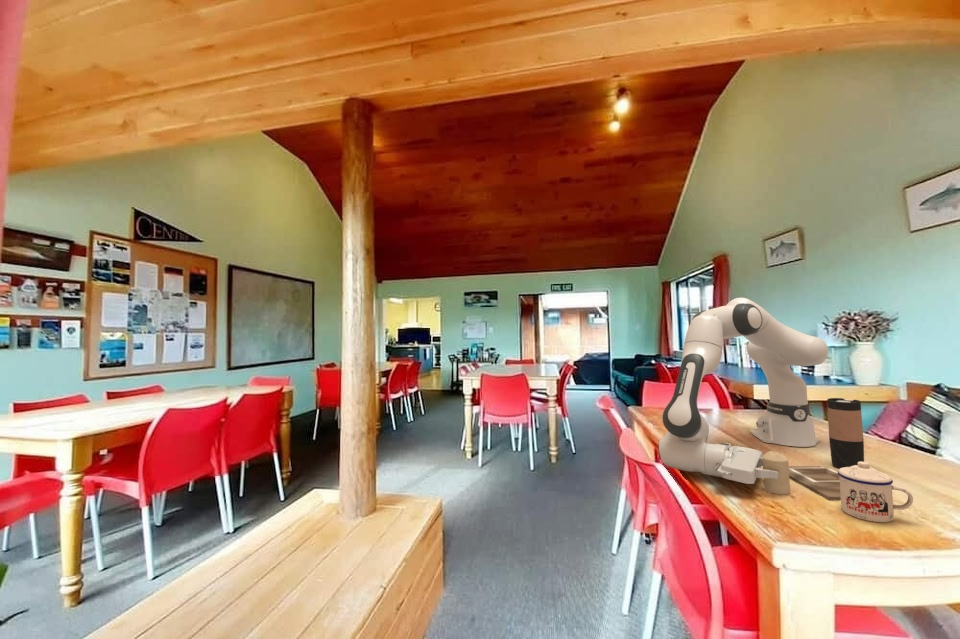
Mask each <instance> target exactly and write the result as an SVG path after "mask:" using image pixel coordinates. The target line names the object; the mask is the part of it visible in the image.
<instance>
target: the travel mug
mask: <svg viewBox="0 0 960 639" xmlns="http://www.w3.org/2000/svg"><path fill="white" fill-rule="evenodd" d="M826 401H827V403H826V404H827V405H826V406H827V422H828V424H827V425H828V439H829V449H830V458H831V459H830V460H831V465H832V467H834V468H836V469H838V470H839V469H840V468H843V467H851V466H854V465H858V462H865V442H864V431H863V430H864V427H863V418H862V416H863V415H862V405H861V404H862V402H861V401H860V400H858V399H852V400H846V399H845V398H841V397H838V398H837V397H833V398H832V397H830V398H827V400H826Z"/></svg>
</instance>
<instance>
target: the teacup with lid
mask: <svg viewBox="0 0 960 639" xmlns="http://www.w3.org/2000/svg"><path fill="white" fill-rule="evenodd" d="M837 472H838V475H839V479H840V494H841V500H840V507H841V509H842V511H843V513H846V514H847V515H849V516H851V517H853V518H856V519H859V520H864V521H867V522H872V521H873V522H874V523H890V522H893V520H894V519H895V514H894V510H898V511H900V510H906V509H908V508H910V507H911V506H912V504H913V503H914V496H913V495H912V493H911V492H910V491H909V490H908V489H907V488H904V487H902V486H899V485H893V483H894V480H893V478H892V477H891V476H890V475H889V474H887V473H885V472H881V471H879V470H878V469H875V468H873V467H872V466H871V465H870V463H869V462H866V461H864V462H858V465H854V466H851V467H843V468H840V469H838V471H837ZM893 490H895V491H899V492H902V493H904V494H906V495H907V500H906V501H905V503H903V504H894V500H893V499H894V497H893Z"/></svg>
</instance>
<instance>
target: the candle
mask: <svg viewBox="0 0 960 639" xmlns="http://www.w3.org/2000/svg"><path fill="white" fill-rule="evenodd" d="M762 460H763V466H762V469H764V470H770V469H772V470H777V471H778V472H779V477H778V479H774V478H763V487H764V490H765V491H766V492H768V493H770V494H771V493H772V494H775V495H789V494H790V493H791V484H790V483H791V482H790V478H789V459H788V458H787V457H786V456H784V455H783V454H782V453H780V452H777V451H775V450H771V451H770V450H769V451H767V452H766V453H765V454H762Z"/></svg>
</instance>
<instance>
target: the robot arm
mask: <svg viewBox="0 0 960 639" xmlns="http://www.w3.org/2000/svg"><path fill="white" fill-rule="evenodd" d="M686 330H687V331H686V335H685V336H684V337H685V338H684V343H683V348H682V356H681V362H680V368H679V372H678V374H677V379H676V383H675V386H674V391H673V395H672V397H671V399H670V401H669V402H668V404H667V405H666V407H665V408H664V410H663V411H662V416H661V417H662V423H663V425H664V428H665V429H666V430H667V432H666V434H665V435H664V436H663V437H662V438H661V439H660V440H659V442H658V445H657V448H658V455H659V457H660V460H661V462H662V463H663V464H664V465H665V466H667V467H669V468H672V469H675V470H680V471H684V472H685V471H686V472H689V473H690V472H691V473H693V472H694V473H695V472H697V473H701V474H704V475H707V476H713V477H718V478H723V479H726V480H729V481H733V482H738V483H742V484H748V485H751V484H752V485H753V484H755V482H756V480H757V478H758V479H764V478H774V479H778V477H779V472H778V471H777V470H772V469H770V470H764V469H763V468H762V467H763V460H762V456H763V452H762V451H760V450H758V449H754V448H750V447H745V446H744V447H743V446H739V445H732V444H731V443H728V442H721V443H711V442H710V443H708V438H709V433H710V427H709V423H708V421H707V419H706V418H705V417H704V416H703V415H702V414H701V413H700V410H699V407H698V400H699V395H700V389H701V385H702V381H703V378H704V377H705V375H710V374H713V373H714V372H715V371H717V369H718V368H719V364H720V362H721V359H722V355H723V347H724V340H728V339H732V338H738V337H742V336H743V337H744V338H745V339H747V340H748V341H749V342H748V344H747V346H746V351H747V355H748V357H749V358H750V359H751V360H752V361H754V362H755V363H756V364H757V365H758V367H760V369H761V370H762V371H763V374H764V375H765V378H766V381H767V388H768V395H769V396H768V397H769V401H767V402H766V404H765V405H766V406H767V407H766V412H764V413H763V414H762V415H760V416H759V417H758V418H757V420H756V422H755V426H756V428H754V429H750V430H749V433H750V434H752V435H753V436H755V438H758V440H759V441H761V442H763V443H769V444H775V445H781V446H785V447H786V446H787V447H788V446H789V447H798V448H799V447H800V448H801V447H802V448H803V447H804V448H806V447H807V448H809V447H815V446H817V443H820V438H818V437H817V434H816V429H815V423H814V419H813V418H812V417H811V416H810V414H811V411H810V410H811V407H810V404H809V403H808V390H807V389H808V388H807V383H806V381H805V380H804V379H803V378H802V377H800V376H798V375H797V374H795V373H794V371H792V369H791V366H794V367H810V366H818V365H822V364H823V363H824V362H825V361H826V360H827V358H828V355H829V348H828V345H827V343H826V342H825V341H824V340H823V339H822V338H821V337H817V336H814V335H809V334H807V333H804V332H802V331H799V330H797V329H794V328H792V327H789V326H788V325H786V324H784V323H782V322H780V321H778V319H777V318H775V317H774V316H773V315H772V314H770V313H769V312H768V310H766V309H765V308H763V307H762V306H761V305H759V304H757V303H756V302H754V301H753V300H751V299H750V298H746V297H736V298H734V299H732V300H730V301H729V302H727V304H726V305H723V306H718V307H714V308H710V309H707V310H701V311H699V312H697V313H695V315H693V317H692V318H691V321H690V323H689V325H688V329H686Z"/></svg>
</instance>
